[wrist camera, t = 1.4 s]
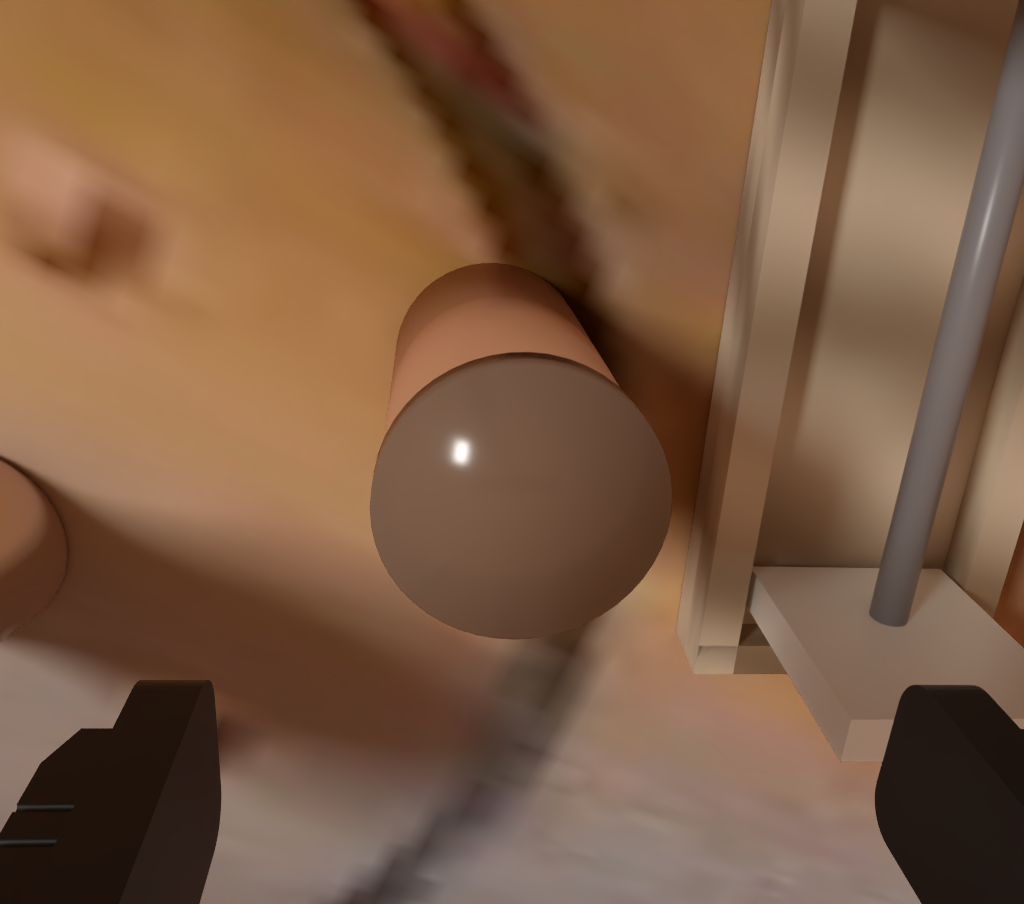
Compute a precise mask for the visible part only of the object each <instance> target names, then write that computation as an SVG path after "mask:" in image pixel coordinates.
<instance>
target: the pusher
mask: <svg viewBox="0 0 1024 904" xmlns="http://www.w3.org/2000/svg"><path fill="white" fill-rule="evenodd" d="M1023 185H1024V0H1019V1H1018V5H1017V9H1016V13H1015V17H1014V21H1013V25H1012V30H1011V34H1010V38H1009V42H1008V46H1007V50H1006V54H1005V58H1004V62H1003V66H1002V70H1001V74H1000V79H999V83H998V87H997V91H996V95H995V99H994V103H993V107H992V111H991V115H990V119H989V123H988V128H987V132H986V136H985V140H984V144H983V148H982V152H981V156H980V160H979V164H978V168H977V172H976V177H975V181H974V185H973V189H972V193H971V197H970V201H969V205H968V209H967V213H966V217H965V221H964V226H963V230H962V234H961V238H960V242H959V246H958V250H957V254H956V258H955V262H954V266H953V270H952V275H951V279H950V283H949V287H948V291H947V295H946V299H945V303H944V307H943V311H942V315H941V319H940V324H939V328H938V332H937V336H936V340H935V344H934V348H933V352H932V356H931V360H930V364H929V368H928V373H927V377H926V381H925V385H924V389H923V393H922V397H921V401H920V405H919V409H918V413H917V417H916V422H915V426H914V430H913V434H912V438H911V442H910V446H909V450H908V454H907V458H906V462H905V466H904V471H903V475H902V479H901V483H900V487H899V491H898V495H897V499H896V503H895V507H894V511H893V515H892V520H891V524H890V528H889V532H888V536H887V540H886V544H885V548H884V552H883V556H882V560H881V564H880V568H836V567H760V566H753V568H752V574H751V579H750V584H749V590H748V595H747V601H746V606H747V608H748V609H749V611H750V613H751V614H752V616H753V618H754V619H755V621H756V623H757V624H758V626H759V628H760V629H761V631H762V633H763V634H764V636H765V637H766V639H767V641H768V642H769V644H770V646H771V647H772V649H773V651H774V652H775V654H776V656H777V657H778V659H779V661H780V662H781V664H782V666H783V667H784V669H785V671H786V672H787V674H788V676H789V677H790V679H791V680H792V682H793V684H794V685H795V687H796V689H797V690H798V692H799V694H800V695H801V697H802V699H803V700H804V702H805V704H806V705H807V707H808V709H809V710H810V712H811V714H812V715H813V717H814V719H815V720H816V722H817V724H818V725H819V727H820V728H821V730H822V732H823V733H824V735H825V737H826V738H827V740H828V742H829V743H830V745H831V747H832V748H833V750H834V752H835V753H836V755H837V757H838V758H839V760H840V762H883V758H884V755H885V751H886V747H887V744H888V740H889V736H890V733H891V729H892V726H893V722H894V718H895V715H896V711H897V707H898V704H899V701H900V698H901V695H902V694H903V692H904V691H905V690H906V688H908V687H909V686H911V685H975V686H978V687H980V688H982V689H984V690H985V691H986V692H987V693H988V694H989V695H990V696H991V697H992V698H993V699H994V700H995V702H996V703H997V704H998V705H999V706H1000V707H1001V708H1002V709H1003V710H1004V711H1005V712H1006V714H1007V715H1008V716H1009V717H1010V718H1011V719H1012V720H1013V721H1014V722H1015V723H1016V724H1017V726H1018V727H1019V728H1020V729H1024V648H1023V647H1022V646H1021V645H1020V644H1019V643H1018V642H1017V641H1015V640H1014V639H1013V638H1012V637H1011V636H1010V635H1009V634H1008V633H1007V632H1006V631H1005V630H1004V629H1003V628H1002V627H1001V626H1000V625H999V624H998V623H997V622H996V621H994V620H993V619H992V618H991V617H990V616H989V615H988V614H987V613H986V612H985V611H984V610H983V609H982V608H981V607H980V606H979V605H978V604H977V603H976V602H975V601H973V600H972V599H971V598H970V597H969V596H968V595H967V594H966V593H965V592H964V591H963V590H962V589H961V588H960V587H959V586H958V585H957V584H956V583H955V582H954V581H952V580H951V579H950V578H949V577H948V576H947V575H946V574H945V573H944V572H943V571H942V570H941V569H922V566H923V562H924V558H925V554H926V551H927V547H928V543H929V539H930V536H931V532H932V528H933V524H934V520H935V517H936V513H937V509H938V505H939V502H940V498H941V494H942V490H943V487H944V483H945V479H946V475H947V471H948V468H949V464H950V460H951V456H952V453H953V449H954V445H955V441H956V437H957V434H958V430H959V426H960V422H961V419H962V415H963V411H964V407H965V404H966V400H967V396H968V392H969V388H970V385H971V381H972V377H973V373H974V370H975V366H976V362H977V358H978V354H979V351H980V347H981V343H982V339H983V336H984V332H985V328H986V324H987V321H988V317H989V313H990V309H991V305H992V302H993V298H994V294H995V290H996V287H997V283H998V279H999V275H1000V271H1001V268H1002V264H1003V260H1004V256H1005V253H1006V249H1007V245H1008V241H1009V238H1010V234H1011V230H1012V226H1013V222H1014V219H1015V215H1016V211H1017V207H1018V204H1019V200H1020V196H1021V192H1022V188H1023Z"/></svg>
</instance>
